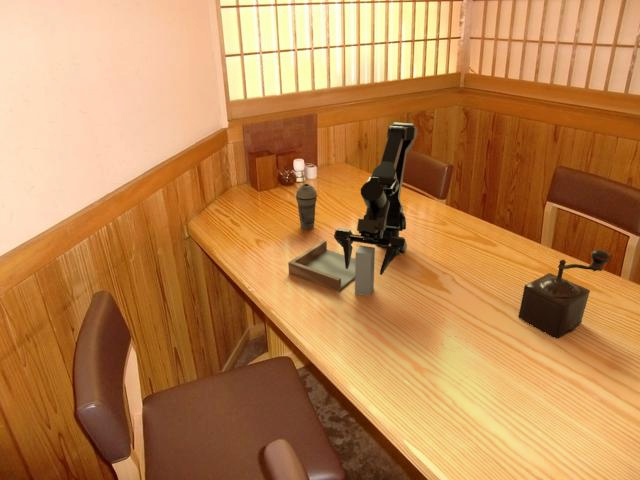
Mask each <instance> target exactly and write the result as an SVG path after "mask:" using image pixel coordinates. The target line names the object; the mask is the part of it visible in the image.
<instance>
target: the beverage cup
mask: <svg viewBox="0 0 640 480" xmlns="http://www.w3.org/2000/svg"><path fill="white" fill-rule="evenodd" d="M301 178H302V184H301V185H300V186H299V187H298V188H297V190H296V194H295V199H296V202H297V208H298V218H299V223H300V228H301V229H302V230H303V231H304V230H307V231H310V230H313V229H314V228H315V219H316V218H315V216H316V204H317V197H318V193H317V190H316V189H315V187H314V186H313V185H311V184H309V183H305V176H304V171H301Z"/></svg>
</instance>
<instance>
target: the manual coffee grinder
mask: <svg viewBox="0 0 640 480" xmlns="http://www.w3.org/2000/svg"><path fill="white" fill-rule="evenodd" d="M590 256H591V260H592V261H591V263H590V264H589V265H588V266H587V265H583V264H578V263H577V264H576V263H570V264H567V261H566V259H560V260H559V264H558V267H557V268H558V272H557V275H556V274H553V273H551V272H548V273H547V274H545V275H543V276H541V277H538V278H537V279H535V280H533V281H530V282H529V283H527V284H525V285H524V288H523V291H522V292H523V293H522V296H521V297H522V298H521V303H520V307H519V311H518V315H517V316H518V317H519V318H518V319H520V318H521V319H522V320H521V319H520V320H521V321H523V320H524V321H523V322H525V323H526V322H527V324H528V323H529V325H530V324H531V325H530V326H532V325H533V326H532V327H534V328H535V327H536V328H535V329H537V328H538V329H537V330H539V329H540V331H541V332H543V333H544V332H546V333H547V334H546V333H545V334H546V335H548V334H549V335H548V336H550V335H551V336H550V337H551V338H554V337H555V338H554V339H557V338H558V339H559V338H562V337H564V336H566V335H567V334H569V333H571V332H573V331H574V330H576V328H578V327H580V324H582V322H583V317H584V314H585V313H584V312H585V309H586V306H587V303H588V300H589V295H590V292H591V291H590V289H588V288H586V287H583V286H582V285H579V284H577V283H575V282H573V281H570V280H568V279H565V278H563V273H564V270H569V269H570V270H571V269H581V270H591V271H593V272H603V266H605V265H606V264H608V262H609V261H610V260H611V255H610V253H609V252H608V251H605V250H604V249H595V250H594V249H593V251H592V252H591V255H590ZM577 326H578V327H577Z"/></svg>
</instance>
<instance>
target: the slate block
mask: <svg viewBox="0 0 640 480" xmlns="http://www.w3.org/2000/svg"><path fill="white" fill-rule="evenodd" d="M375 256H376V247H374V246H368V245H361V244H360V245H359V246H358V247H357V249H356V251H355V259H356V260H355V279H354V294H356V295H362V296H366V297H370V296H371V294H372V292H373V290H374V289H375V288H374V286H375V285H374V282H375V258H376V257H375Z"/></svg>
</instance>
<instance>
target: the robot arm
mask: <svg viewBox="0 0 640 480" xmlns="http://www.w3.org/2000/svg"><path fill="white" fill-rule="evenodd" d="M418 130H419V129H418V127H417V126H415V123H411V122H399V121H398V122H397V121H396V122H395V121H394V122H393V124H392V123H391V125H387V130H386V131H387V132H386V138H387V140H386V144H385V147H384V150H383V154H382V157H381V159H380V160H381V161H380V163H379V164H378V165H377V166H376V167H374V168H373V171H372V173H371V176H369V178H368V179H367V180H366V182H365V183H364V184H363V185H362V186H361V188H360V195H361V197H362V200H363V202H364V204H365V206H366V210H365V211H366V212H365V214H364V215H363V218H358V221H357V228H356V232H358V234H353V232H352V231H351V229H347V228H339V227H338V228H337V229H335V231H334V234H333V238H334V240H335V241H336V242H337V244H339V245H340V246H341V248H342V249H343V255H344V257H345V267H346V269H348V267H349V264H350V259H351V257H352V253H353V248H354V247H353V246H352V244H354V243H361V244H365V245H366V244H367V245H374V246H377V247H382V248H385V253H384V257H383V260H382V263H381V266H380V270H379V276H380V275H381V276H382V275H384V273H385V271H386V270H387V268H388V267H389V266H390V264H391V262H392V261H393V260H394V259H395V258H396V257H400V256H401V254H406V253H407V249H408V247H407V246H408V245H407V241H406V239H405V237H403V236H400V232H403V230H407V219H406V215H405V213H404V206H403V204H402V202H401V195H402V194H401V192H402V187H403V182H404V181H403V180H404V174H405V169H406V162H407V156H408V155H407V154H408V152H409V151H410V150H411V149H412V147H414V145H415V140H417V137H418V133H419V132H418ZM359 234H360V235H359Z"/></svg>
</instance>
